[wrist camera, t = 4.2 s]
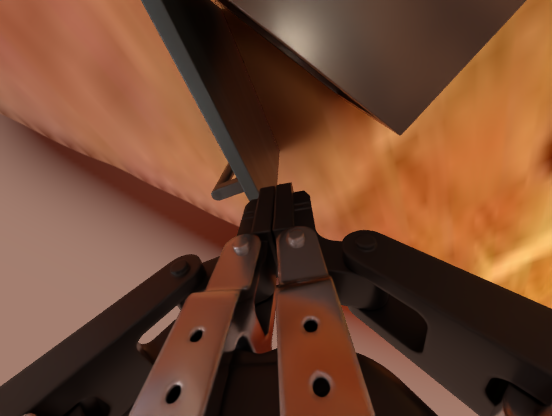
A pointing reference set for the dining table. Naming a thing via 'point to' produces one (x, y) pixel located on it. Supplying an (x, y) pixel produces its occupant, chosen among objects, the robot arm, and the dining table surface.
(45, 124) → the dining table surface
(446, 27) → the cupboard
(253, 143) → the door
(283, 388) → the robot arm
